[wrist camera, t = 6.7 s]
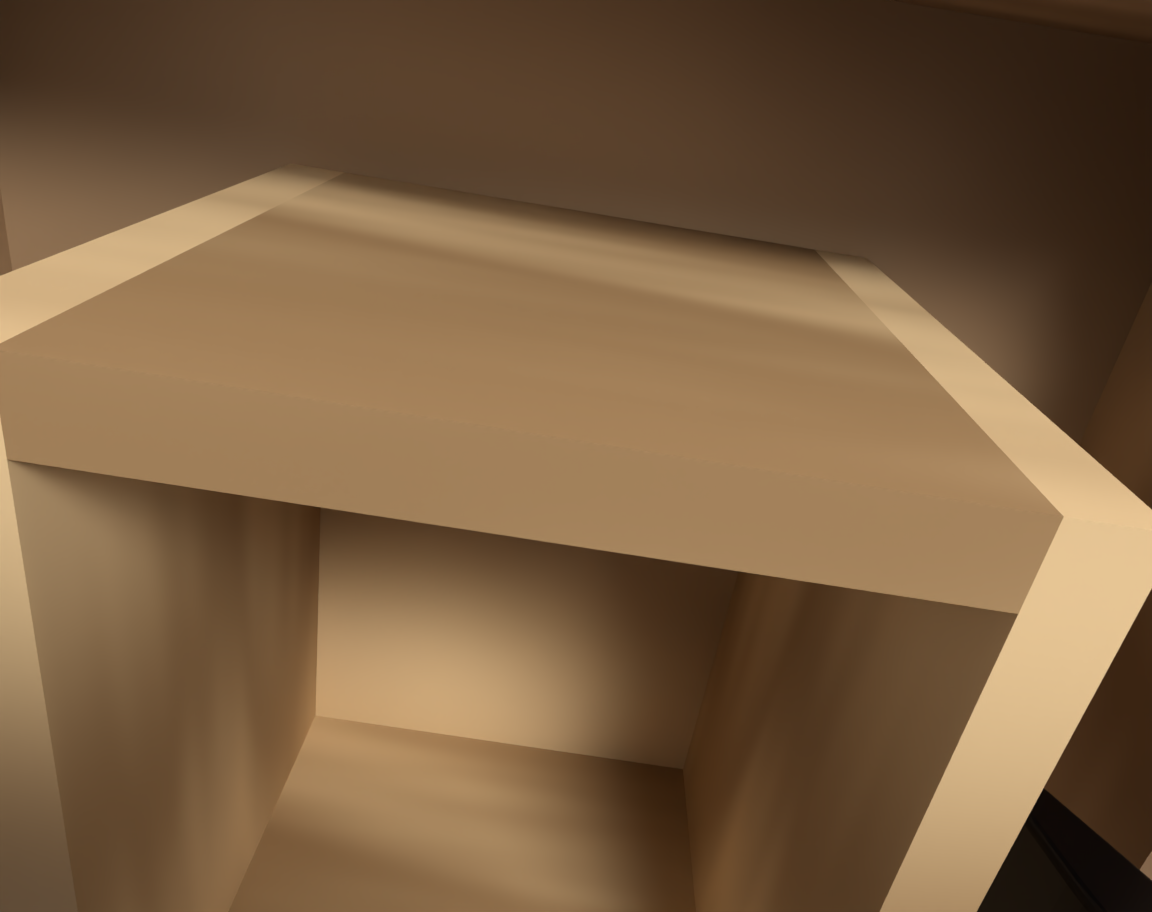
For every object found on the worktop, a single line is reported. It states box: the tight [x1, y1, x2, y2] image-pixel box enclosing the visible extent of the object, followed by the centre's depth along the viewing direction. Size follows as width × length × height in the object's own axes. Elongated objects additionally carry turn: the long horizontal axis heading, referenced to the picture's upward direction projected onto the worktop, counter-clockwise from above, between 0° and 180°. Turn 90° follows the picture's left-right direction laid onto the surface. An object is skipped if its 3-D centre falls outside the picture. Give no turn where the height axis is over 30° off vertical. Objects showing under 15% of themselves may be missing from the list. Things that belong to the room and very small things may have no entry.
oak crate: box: [0, 164, 1152, 912], centre depth 9 cm, size 8×6×6 cm
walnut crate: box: [0, 0, 1152, 880], centre depth 10 cm, size 15×15×4 cm
